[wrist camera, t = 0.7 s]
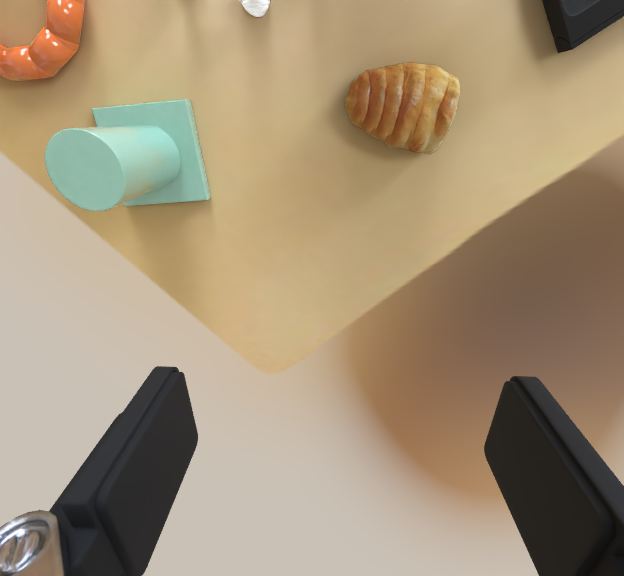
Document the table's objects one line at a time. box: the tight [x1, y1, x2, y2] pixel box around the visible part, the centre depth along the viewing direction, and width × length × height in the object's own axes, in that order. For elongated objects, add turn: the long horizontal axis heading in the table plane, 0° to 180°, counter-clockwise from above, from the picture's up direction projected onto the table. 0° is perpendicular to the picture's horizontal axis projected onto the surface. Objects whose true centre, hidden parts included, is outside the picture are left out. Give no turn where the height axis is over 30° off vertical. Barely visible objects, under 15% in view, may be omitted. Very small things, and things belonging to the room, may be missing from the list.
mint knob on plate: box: [45, 99, 211, 211], centre depth 29 cm, size 9×9×11 cm
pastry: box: [345, 62, 460, 154], centre depth 29 cm, size 9×7×4 cm
